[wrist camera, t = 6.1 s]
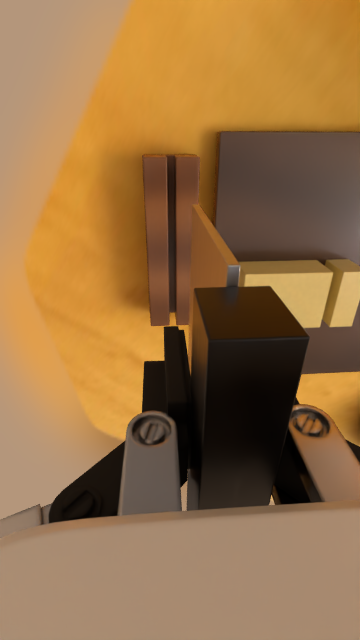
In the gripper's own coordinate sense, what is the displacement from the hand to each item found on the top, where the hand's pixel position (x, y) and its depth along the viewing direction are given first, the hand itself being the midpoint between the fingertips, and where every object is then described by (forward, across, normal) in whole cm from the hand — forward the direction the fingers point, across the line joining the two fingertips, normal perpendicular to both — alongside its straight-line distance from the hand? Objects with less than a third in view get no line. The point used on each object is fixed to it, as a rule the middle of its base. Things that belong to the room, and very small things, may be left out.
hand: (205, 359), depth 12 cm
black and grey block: (+4, 0, 0) cm, 4 cm away
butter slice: (+16, -14, +4) cm, 22 cm away
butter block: (+16, -8, +4) cm, 19 cm away
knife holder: (+17, +1, 0) cm, 17 cm away
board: (+17, -12, +3) cm, 21 cm away
